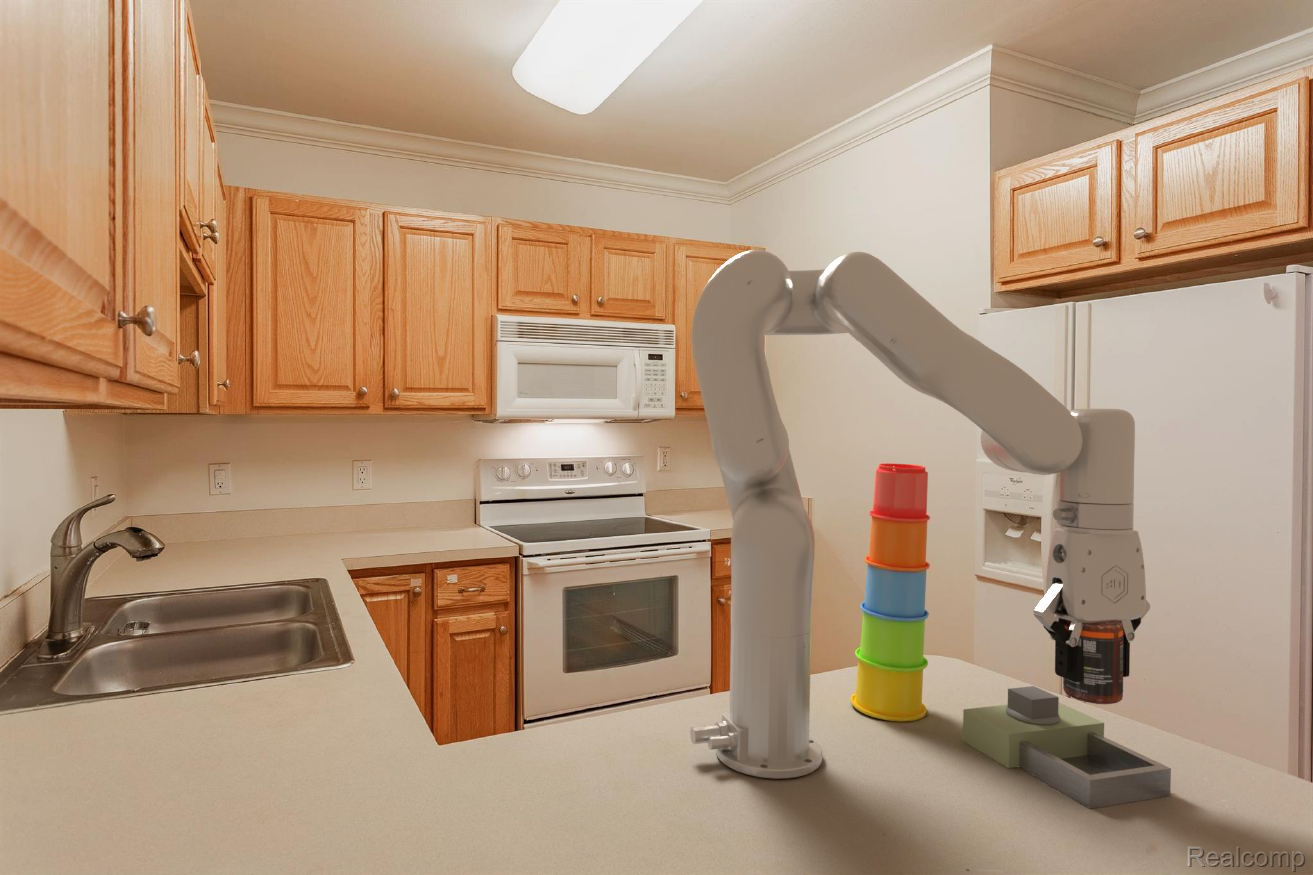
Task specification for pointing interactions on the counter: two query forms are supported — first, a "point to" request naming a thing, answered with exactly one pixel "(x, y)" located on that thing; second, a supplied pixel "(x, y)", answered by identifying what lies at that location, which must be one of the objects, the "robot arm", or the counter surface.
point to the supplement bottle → (1099, 664)
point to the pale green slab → (1028, 726)
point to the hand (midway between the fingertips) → (1091, 674)
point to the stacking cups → (895, 598)
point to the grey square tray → (1099, 773)
